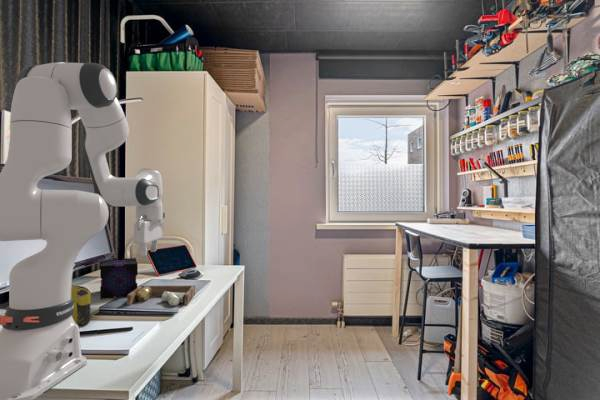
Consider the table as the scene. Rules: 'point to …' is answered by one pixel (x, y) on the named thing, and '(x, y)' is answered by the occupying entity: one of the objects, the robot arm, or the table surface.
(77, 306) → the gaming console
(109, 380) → the table surface
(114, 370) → the table surface
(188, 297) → the corral
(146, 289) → the brass bushing
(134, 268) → the energy cube
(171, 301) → the pipe fitting
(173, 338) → the table surface
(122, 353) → the table surface
